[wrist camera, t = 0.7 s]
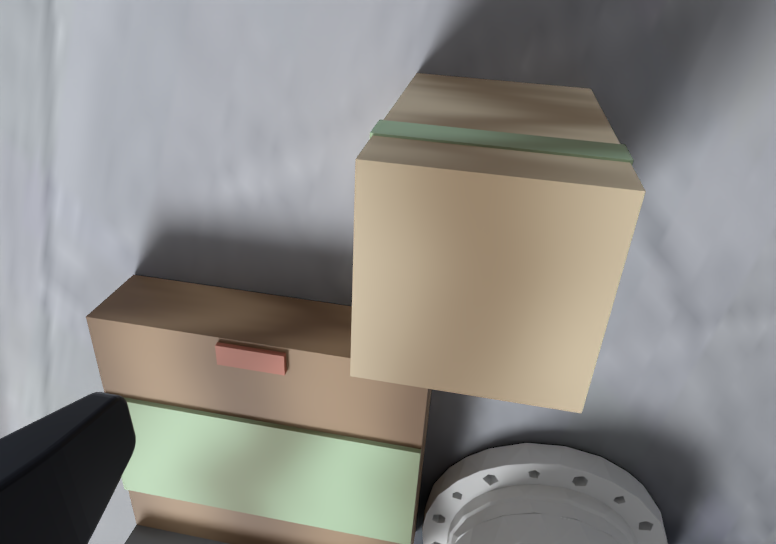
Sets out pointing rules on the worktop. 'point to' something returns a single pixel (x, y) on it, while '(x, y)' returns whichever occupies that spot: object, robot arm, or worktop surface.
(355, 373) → the tan green-striped carton
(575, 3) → the worktop surface
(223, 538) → the open box
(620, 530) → the mechanical component
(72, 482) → the robot arm
